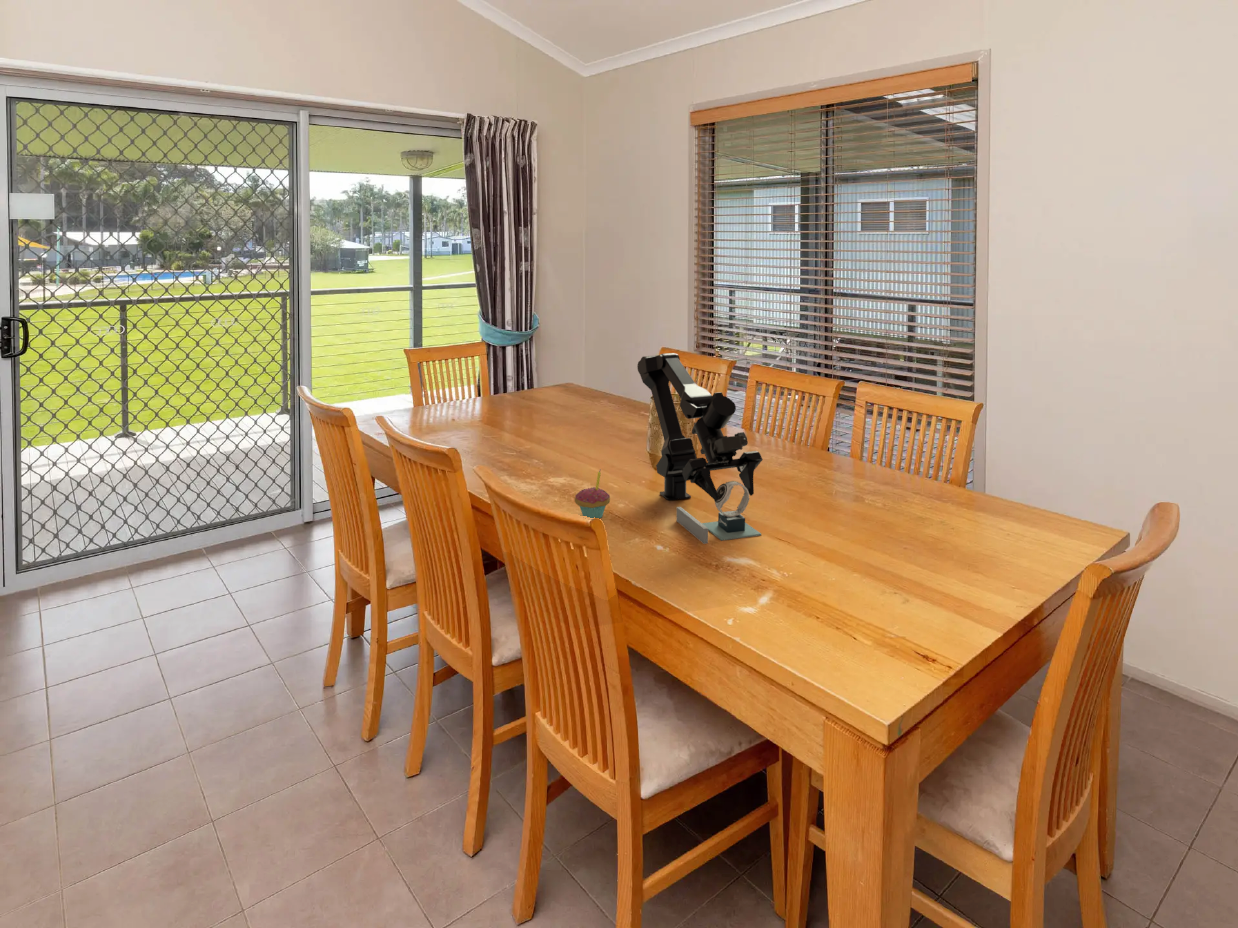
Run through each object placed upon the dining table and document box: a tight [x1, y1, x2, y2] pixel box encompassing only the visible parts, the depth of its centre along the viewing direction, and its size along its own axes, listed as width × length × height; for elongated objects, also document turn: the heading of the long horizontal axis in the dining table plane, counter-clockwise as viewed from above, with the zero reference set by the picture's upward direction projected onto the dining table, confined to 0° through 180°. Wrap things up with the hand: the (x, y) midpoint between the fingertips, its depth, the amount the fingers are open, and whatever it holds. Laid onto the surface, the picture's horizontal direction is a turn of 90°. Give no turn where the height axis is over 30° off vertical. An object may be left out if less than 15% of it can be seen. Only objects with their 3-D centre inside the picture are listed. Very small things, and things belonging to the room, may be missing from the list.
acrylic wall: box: [675, 506, 709, 545], centre depth 191 cm, size 16×1×4 cm, turn 19°
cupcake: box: [574, 468, 611, 519], centre depth 200 cm, size 9×8×12 cm
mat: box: [701, 520, 762, 542], centre depth 192 cm, size 11×10×1 cm
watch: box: [713, 480, 750, 533], centre depth 191 cm, size 6×8×11 cm
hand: (734, 497), depth 189 cm, fingers open, 9 cm apart
